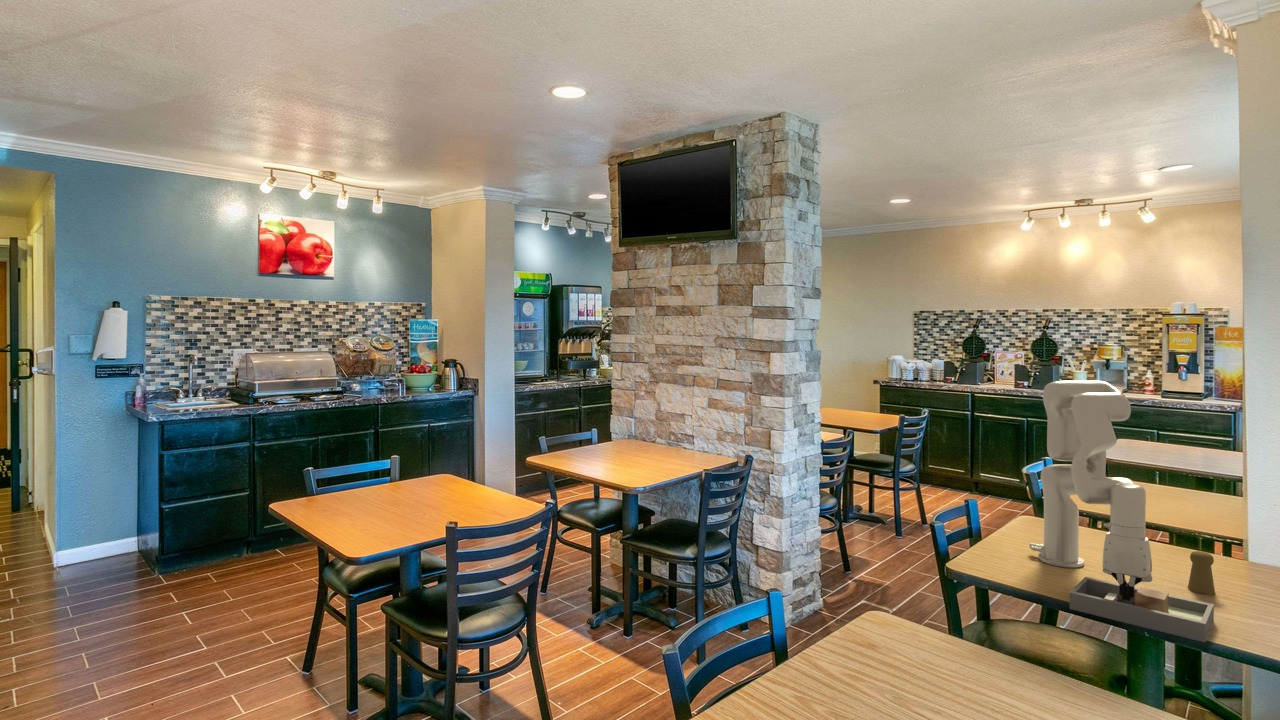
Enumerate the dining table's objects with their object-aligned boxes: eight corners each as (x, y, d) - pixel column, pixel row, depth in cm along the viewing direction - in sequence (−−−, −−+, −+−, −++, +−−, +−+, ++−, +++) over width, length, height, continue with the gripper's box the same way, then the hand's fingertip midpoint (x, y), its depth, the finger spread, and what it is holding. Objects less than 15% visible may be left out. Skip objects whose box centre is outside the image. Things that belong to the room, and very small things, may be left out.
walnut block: (1135, 610, 172) (1135, 593, 172) (1139, 603, 176) (1139, 587, 176) (1164, 617, 168) (1164, 599, 168) (1168, 610, 172) (1168, 593, 172)
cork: (1220, 595, 186) (1221, 556, 186) (1195, 593, 187) (1196, 555, 187) (1206, 587, 192) (1207, 549, 192) (1182, 585, 193) (1183, 548, 193)
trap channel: (1069, 608, 179) (1069, 592, 179) (1085, 592, 190) (1085, 576, 190) (1205, 642, 158) (1205, 624, 158) (1213, 621, 170) (1213, 604, 169)
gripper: (1090, 528, 178) (1089, 595, 179) (1160, 539, 167) (1159, 611, 168) (1097, 522, 183) (1097, 587, 184) (1165, 533, 172) (1164, 602, 173)
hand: (1126, 598), depth 176 cm, fingers closed
